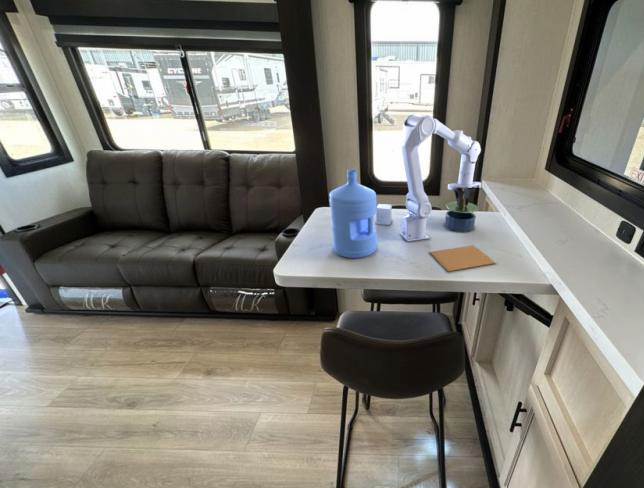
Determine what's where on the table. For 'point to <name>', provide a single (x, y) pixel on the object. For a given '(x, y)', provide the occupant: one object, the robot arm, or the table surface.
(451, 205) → the lid
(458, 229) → the tin
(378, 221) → the product box
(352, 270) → the table surface
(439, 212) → the table surface
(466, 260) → the mat
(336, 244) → the water jug
